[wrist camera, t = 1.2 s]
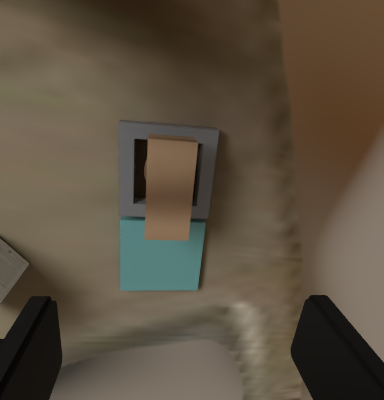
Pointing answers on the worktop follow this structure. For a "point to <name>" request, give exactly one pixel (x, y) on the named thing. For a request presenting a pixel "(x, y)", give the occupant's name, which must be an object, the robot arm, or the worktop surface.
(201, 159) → the socket
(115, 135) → the worktop surface
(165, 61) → the worktop surface
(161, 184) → the t-key
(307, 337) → the robot arm
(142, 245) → the tile
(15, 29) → the worktop surface
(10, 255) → the small box
